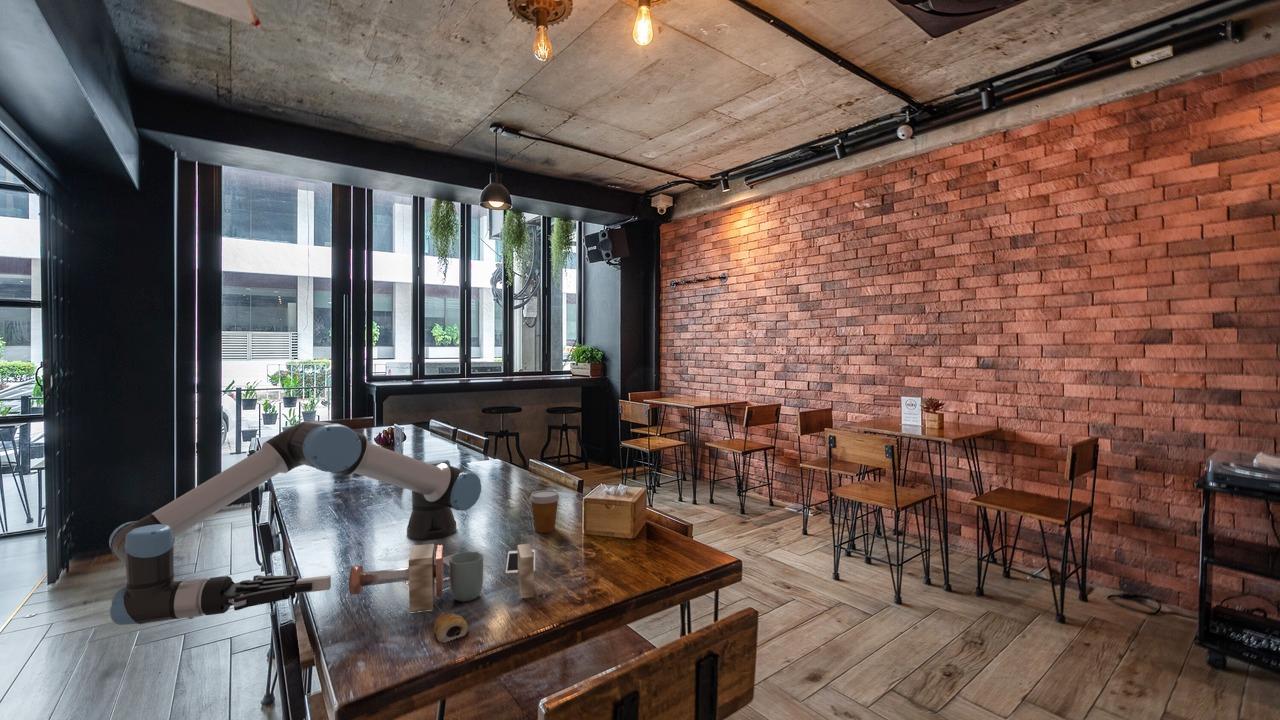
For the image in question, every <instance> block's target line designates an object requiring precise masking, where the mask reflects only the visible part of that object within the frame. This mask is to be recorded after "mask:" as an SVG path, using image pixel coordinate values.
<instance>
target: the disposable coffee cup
mask: <svg viewBox="0 0 1280 720" xmlns="http://www.w3.org/2000/svg"><path fill="white" fill-rule="evenodd" d="M559 499H560V495H559V493H558V491H556V490H552V489H543V490H537V491H533V492H532V493H531V495H530V497H529V500H530V502H531V508H532V515H533V523H534V530H535V532H537V533H540V534H541V533H543V534H545V533H546V534H547V533H551V532H554V531H555V529H556V520H557V519H556V518H557V510H558V501H559Z"/></svg>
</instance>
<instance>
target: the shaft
mask: <svg viewBox="0 0 1280 720" xmlns="http://www.w3.org/2000/svg"><path fill="white" fill-rule="evenodd" d="M443 547H444V546H443V544H440V545H439V544H438V545H437V547H436V552H435V554H436V555H435V560H436V562H435V563H434V564H433V578H435V581H436V584H435V595H436V597H435V598H442V597H443V587H444V582H443V579H444V564H443V557H444V555H443V554H444V550H443ZM348 578H349V579H348V581H349V583H348V584H349V588H348V589H349V595H351V596H353V595H360V594H362V592H363V589H364V587H368V586H378V585H385V584H386V585H387V584H393V583H402V582H403V581H409V566H406V567H400V568H399V567H398V568H391V569H381V570H374V571H364V566H363V565H356V566H351V568H350V571H349V577H348ZM403 583H404V582H403Z"/></svg>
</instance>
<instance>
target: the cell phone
mask: <svg viewBox="0 0 1280 720" xmlns="http://www.w3.org/2000/svg"><path fill="white" fill-rule="evenodd" d="M531 550H532V553H533V556H534V573H535V572H536V549H531ZM505 566H506V567H505V574H506V575H507V574H510V573H511V574H518V550H509V551H508V552H507V560H506V565H505ZM511 574H510V575H511Z"/></svg>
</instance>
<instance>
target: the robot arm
mask: <svg viewBox="0 0 1280 720" xmlns="http://www.w3.org/2000/svg"><path fill="white" fill-rule="evenodd" d="M368 440H369V439H368V437H367V435H365V434H363V433H360V432H358V431H355V430H353V429H352V428H350V427H349V426H347V425H344V424H340V423H335V422H334V423H332V422H326V421H321V420H314V419H313V420H310V419H309V420H305V421H302V422H299V423H296V424H295V425H291V426H290V427H288V428H286V429H285V430H283V431H282V432H280V433H278V434H277V435H275V436H273V437H271V438H270V439H267V440H266V441H265V442H263V443H262V444H261V448H260V449H259V450H257V451H255V452H254V453H252V454H251V455H248V456H247V457H245V458H243V459H241V460H240V461H238V462H236V463H235V464H233V465H232V466H230V467H228V468H225V469H224V470H223V471H221V472H220V473H218V474H216V475H215V476H213V477H211V478H209V479H208V480H205V482H202V483H201V484H199V485H197V486H195V487H194V488H192V489H190V490H189V491H187V492H186V493H184V494H182V495H181V496H179V497H177V498H175V499H173V500H172V501H170V502H168V503H167V504H166V505H164V506H162V507H160V508H158V509H157V510H155V511H154V512H151V513H150V514H147V515H146V516H144V517H143V518H141V519H139V520H136V521H128V522H125V523H122V524H121V525H119V526H118V527H116V528H115V529H114V530H112V531H113V532H112V533H111V534H110V536H109V541H108V543H109V544H108V545H109V548H110V550H111V553H112V555H114V557H116V558H118V559H119V560H120V562H122V563H123V564H124V565H125V569H126V570H125V572H126V586H124V587H122V588H119V589H118V590H117V591H116V592H115V593H114V595H113V597H112V600H111V606H110V609H109V615H110V619H111V620H112V622H113V624H114V623H115V624H116V625H118V626H127V625H145V624H150V623H157V622H164V621H170V620H171V621H172V620H179V619H186V618H187V619H188V620H192V619H194V618H196V617H201V616H203V615H205V616H213V615H220V614H221V615H222V614H225V613H226V612H227V611H228V610H229V609H230V608H231V606H233V611H240V610H243V609H245V608H249V607H250V608H251V607H255V606H260V605H265V604H269V603H275V602H280V601H285V600H288V599H291V600H294V599H295V598H296V596H297V595H296V594H304V593H305V594H306V593H315V592H321V591H329V590H330V589H331V588H332V587H331V586H332V580H331V579H332V576H331V575H321V576H312V577H302V578H300V577H299V576H300V575H299V574H292V575H289V574H288V575H260V574H256V575H254V576H252V577H253V579H252V580H250V579H246V580H245V579H244V580H241V581H240V582H235V581H233V578H232V577H231V576H228V575H226V576H216V577H210V578H206V577H203V578H195V579H187V580H186V579H185V580H179V581H178V580H176V581H175V571H174V570H175V568H174V566H175V565H174V561H175V559H174V557H175V556H174V555H175V553H174V550H175V549H174V544H175V539H176V538H177V537H179V536H180V535H181V534H184V533H185V532H187V531H188V530H190V529H192V528H193V527H195V526H196V525H198V524H199V523H201V522H202V521H204V520H206V519H207V518H209V517H211V516H212V515H214V514H215V513H217V512H218V511H220V510H222V509H223V508H225V507H226V506H228V505H230V504H232V503H233V502H234V501H236V500H237V499H240V498H241V497H243V496H244V495H246V494H248V493H249V492H251V491H253V490H254V489H256V488H257V487H259V486H260V485H262V484H263V483H265V482H267V481H269V480H270V479H272V478H273V477H275V476H277V475H278V474H280V473H282V474H287V473H288V472H290V471H292V470H293V469H295V468H298V467H302V466H308V467H310V468H314V469H316V470H318V471H320V472H321V471H322V472H324V473H331V474H335V475H338V476H342V477H349V476H351V475H353V474H356V475H358V476H359V475H360V476H363V477H366V478H368V479H369V478H370V479H373V480H376V481H380V482H383V483H386V484H390V485H393V486H395V487H399V488H401V489H406V490H409V491H411V504H412V509H411V514H410V517H409V521H408V524H407V527H406V536H407V537H408V538H410V539H412V540H418V541H419V540H420V541H425V540H428V541H429V540H436V539H441V538H442V539H443V538H446V537H448V536H450V535H451V536H452V535H453V534H454V533H456V532H457V521H456V519H455V515H454V513H453V510H455V511H467V510H470V509H471V508H472V507H474V506H475V504H477V502H478V500H479V498H480V496H481V493H482V482H481V479H480V477H479V476H478V474H477V473H475V472H473V471H471V470H468V471H467V470H463V469H461V468H458V467H455V466H451V463H450V460H448V459H438V460H437V459H436V460H430V461H422V460H420V459H417V458H413V457H411V456H408V455H405V454H403V453H400V452H397V451H394V450H391V449H389V448H386V447H383V446H379V445H378V444H377V445H376V444H374V443H371V442H369V441H368ZM452 509H453V510H452ZM290 597H291V598H290Z"/></svg>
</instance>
